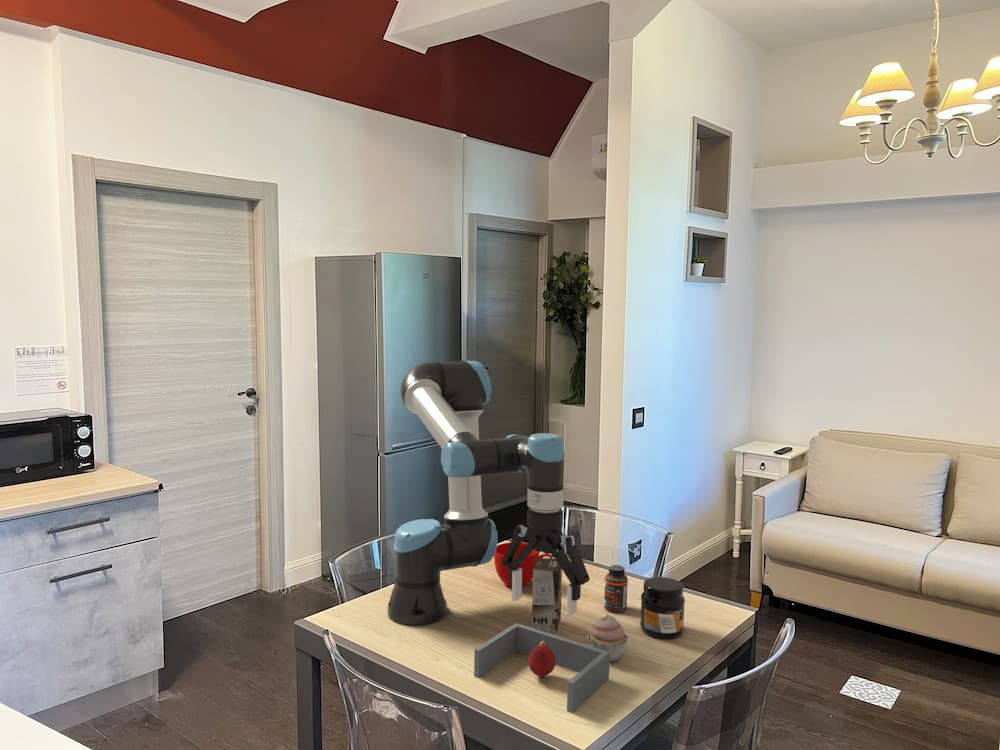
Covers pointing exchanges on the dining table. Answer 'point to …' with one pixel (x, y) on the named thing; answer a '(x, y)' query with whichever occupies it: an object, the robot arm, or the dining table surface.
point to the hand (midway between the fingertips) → (543, 606)
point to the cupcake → (608, 637)
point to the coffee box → (546, 595)
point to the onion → (541, 660)
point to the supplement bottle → (615, 589)
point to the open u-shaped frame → (566, 653)
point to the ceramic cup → (525, 565)
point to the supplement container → (662, 608)
